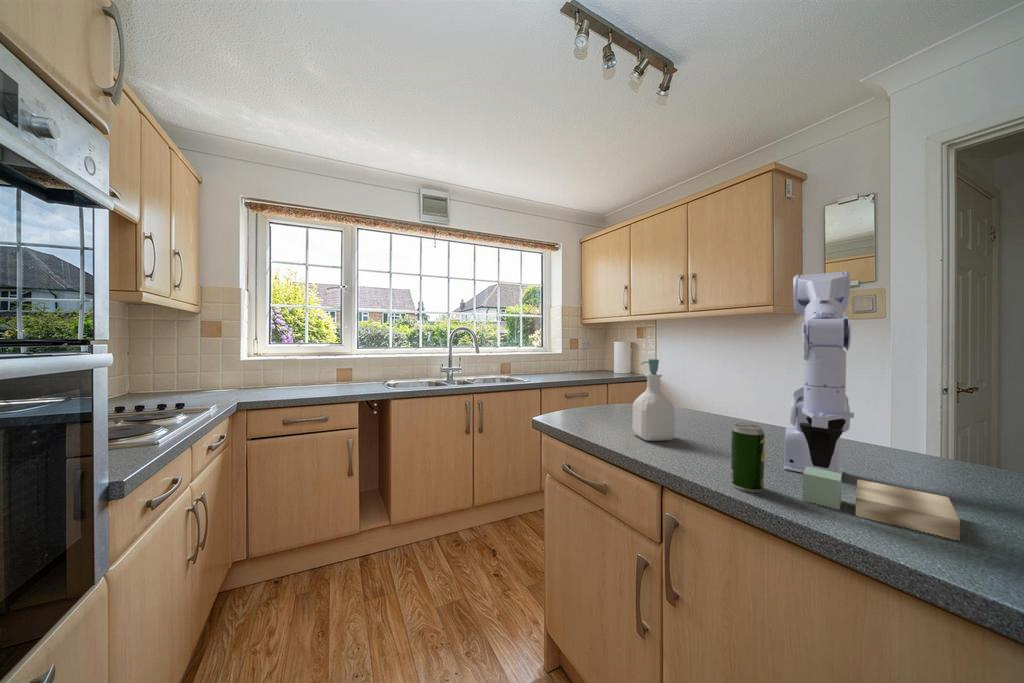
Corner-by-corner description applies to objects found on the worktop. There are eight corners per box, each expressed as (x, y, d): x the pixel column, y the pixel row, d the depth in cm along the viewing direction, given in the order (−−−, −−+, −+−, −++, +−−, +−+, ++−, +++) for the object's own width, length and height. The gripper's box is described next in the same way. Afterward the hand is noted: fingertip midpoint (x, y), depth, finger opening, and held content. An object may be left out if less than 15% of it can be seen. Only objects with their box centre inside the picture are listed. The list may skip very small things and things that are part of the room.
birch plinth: (855, 515, 61) (855, 497, 61) (857, 495, 69) (857, 479, 69) (959, 541, 53) (960, 520, 53) (947, 515, 61) (948, 497, 61)
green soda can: (734, 491, 70) (735, 428, 70) (727, 480, 76) (728, 421, 75) (767, 495, 69) (769, 430, 69) (758, 484, 74) (759, 424, 74)
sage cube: (802, 501, 67) (802, 473, 67) (805, 492, 70) (806, 466, 70) (839, 510, 63) (840, 481, 63) (841, 501, 67) (841, 473, 67)
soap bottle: (629, 433, 112) (630, 357, 111) (660, 433, 113) (661, 357, 112) (644, 442, 102) (645, 360, 102) (677, 442, 103) (678, 360, 103)
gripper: (853, 392, 58) (851, 478, 59) (855, 384, 69) (854, 457, 69) (797, 387, 63) (795, 467, 63) (807, 380, 74) (806, 449, 74)
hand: (822, 461), depth 67 cm, fingers open, 7 cm apart
